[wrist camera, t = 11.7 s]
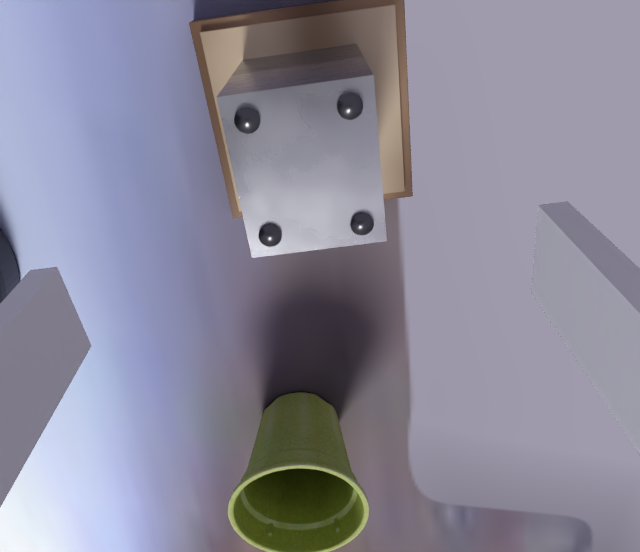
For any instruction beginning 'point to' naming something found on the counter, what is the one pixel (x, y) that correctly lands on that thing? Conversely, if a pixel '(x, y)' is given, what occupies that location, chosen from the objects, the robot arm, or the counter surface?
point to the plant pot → (298, 481)
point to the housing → (305, 150)
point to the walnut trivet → (309, 34)
